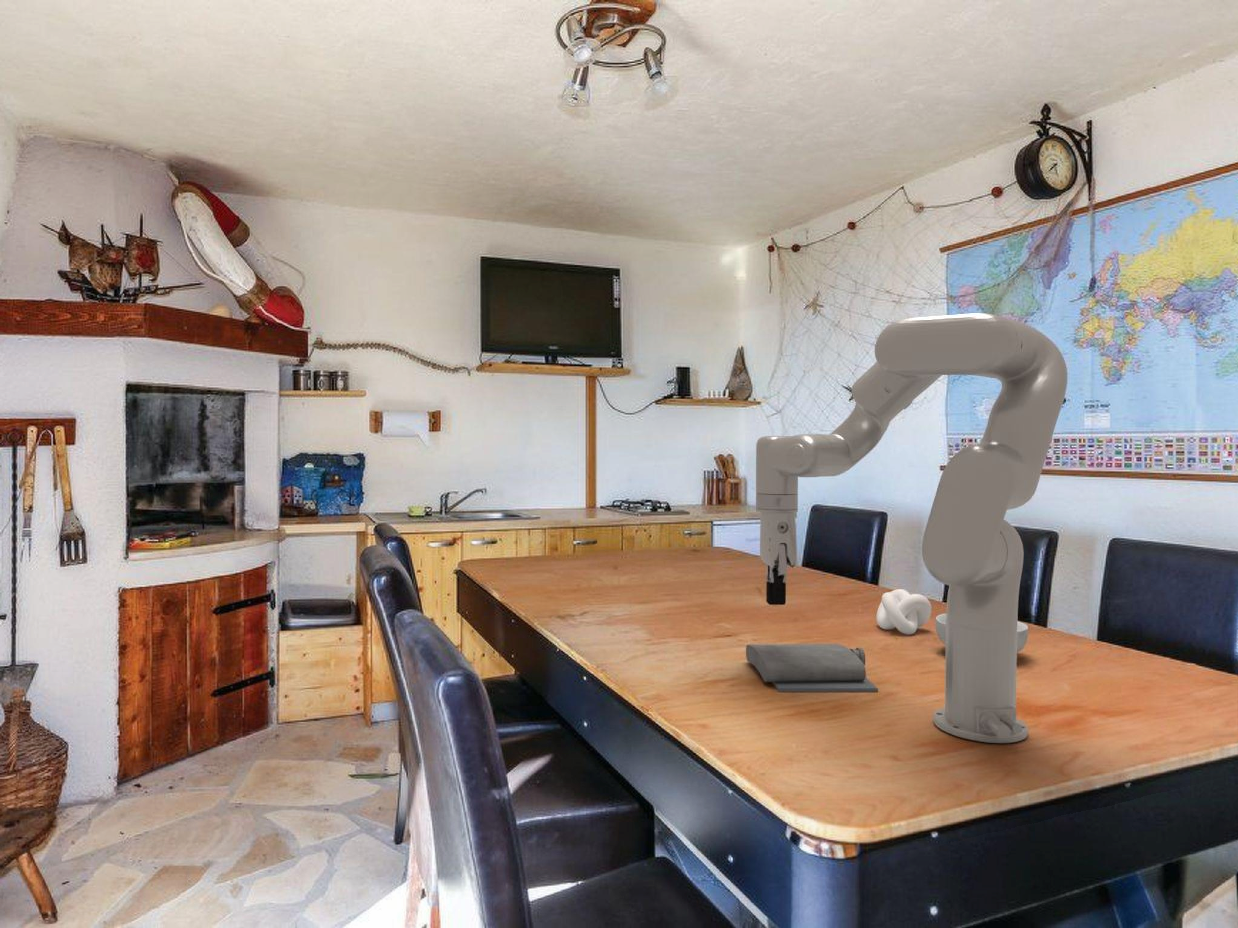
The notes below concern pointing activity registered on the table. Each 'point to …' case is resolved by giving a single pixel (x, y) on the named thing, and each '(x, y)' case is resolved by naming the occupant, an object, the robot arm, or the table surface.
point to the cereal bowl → (1021, 631)
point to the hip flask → (807, 662)
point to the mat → (826, 686)
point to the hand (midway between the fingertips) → (775, 603)
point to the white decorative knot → (903, 611)
